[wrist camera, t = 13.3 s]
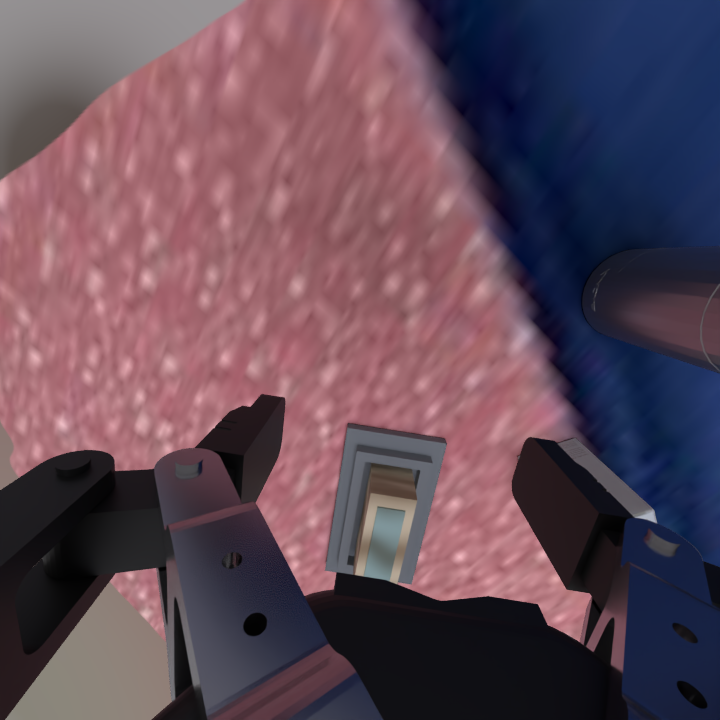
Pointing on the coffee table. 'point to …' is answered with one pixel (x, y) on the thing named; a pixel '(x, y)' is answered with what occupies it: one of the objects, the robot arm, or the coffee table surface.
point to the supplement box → (608, 479)
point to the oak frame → (385, 522)
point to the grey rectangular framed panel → (356, 463)
